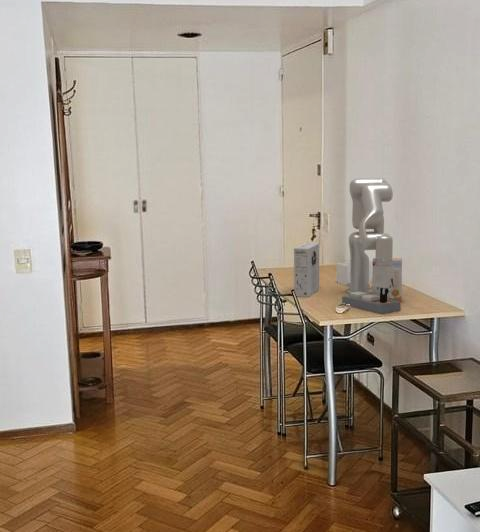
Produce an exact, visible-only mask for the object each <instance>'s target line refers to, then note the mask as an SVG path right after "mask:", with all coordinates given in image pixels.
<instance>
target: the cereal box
mask: <svg viewBox="0 0 480 532" xmlns="http://www.w3.org/2000/svg"><path fill="white" fill-rule="evenodd" d="M293 271H294V272H293V276H294V277H293V281H294V283H293V285H294V288H293V291H295V293H296V295H297V296H298V297H297V298H299V297H300V298H309V297H311V296H312V295H314V294H315V293H316V292H317V291H319V290H320V243H319V242H305V243H302V244H300V245H298V246H295V247H294V248H293Z"/></svg>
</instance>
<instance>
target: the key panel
mask: <svg viewBox="0 0 480 532" xmlns="http://www.w3.org/2000/svg"><path fill="white" fill-rule="evenodd" d="M377 301H380V299H379V300H374V301H368V300H364V299H362V298H355V297H350V294H347V295H342V296H341V304H342V303H345V304H350V306H351V308H355V309H359V310H362V311H367V312H372V313H376V314H380V315H385V314H390V313H395V312H398V311H399V312H400V311H401V306H402V304H401V303H402V301H401V302H399V301H394V300H390V299H387V301H389V302H392V303H386V304H381V303H377ZM350 306H349V307H350Z"/></svg>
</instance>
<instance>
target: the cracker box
mask: <svg viewBox="0 0 480 532" xmlns="http://www.w3.org/2000/svg"><path fill="white" fill-rule="evenodd" d="M375 259H376V257H373V258H372V260H373V269H374V265H375V264H376V262H375ZM392 266H393V269H394V287H393V291H389V293H388V294H387V299H390V300H394V301H399V302H401V303H402V300H403V299H402V298H403V297H402V295H403V293H402V292H403V291H402V290H403V284H402V283H403V258H397V257H396V258H395V257H392ZM372 276H373V272H372ZM371 285H372V284H371ZM371 287H372V289H371V290H372V293H371V294H373V295H377V296H380V294H379V291H378V290H377V289H376V288H374V286H373V285H372V286H371Z"/></svg>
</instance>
